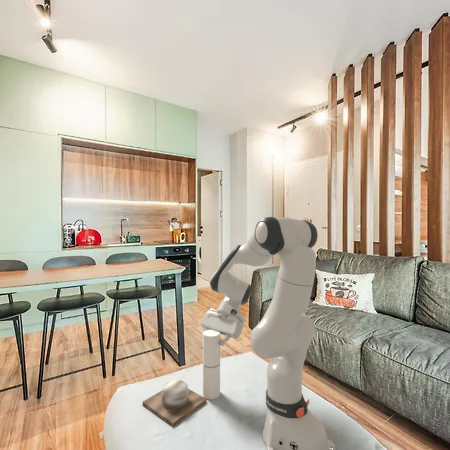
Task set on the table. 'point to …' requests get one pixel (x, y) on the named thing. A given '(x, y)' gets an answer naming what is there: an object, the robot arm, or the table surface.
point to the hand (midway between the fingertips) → (212, 342)
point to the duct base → (174, 412)
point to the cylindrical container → (211, 364)
